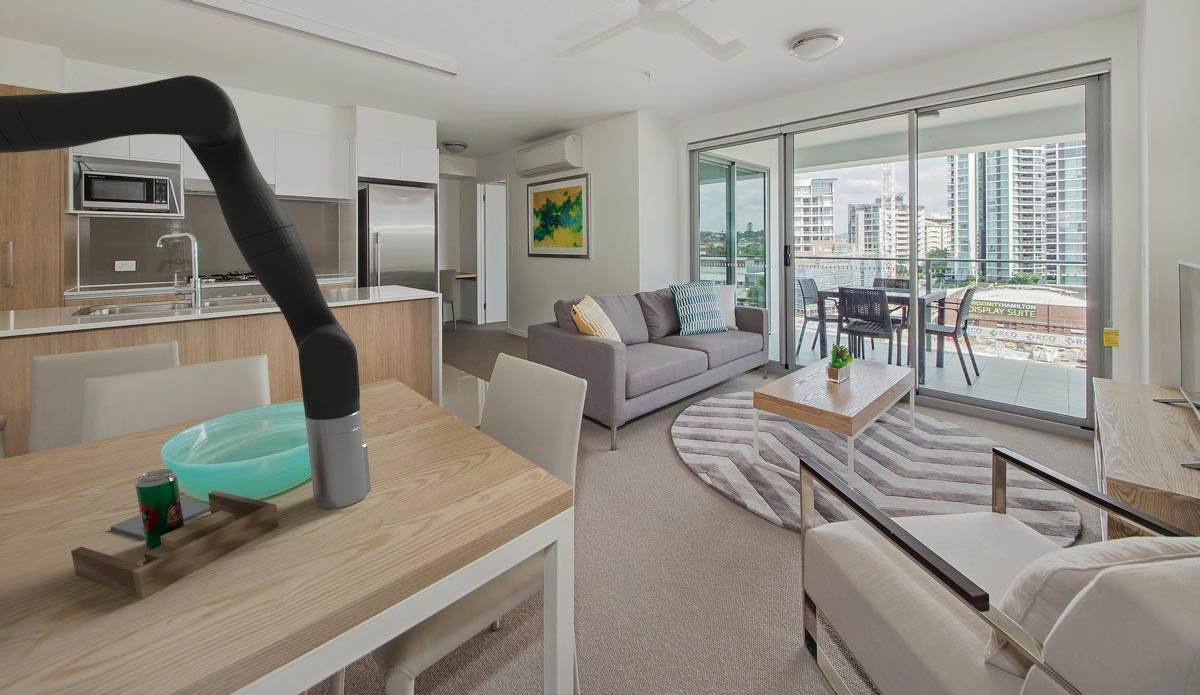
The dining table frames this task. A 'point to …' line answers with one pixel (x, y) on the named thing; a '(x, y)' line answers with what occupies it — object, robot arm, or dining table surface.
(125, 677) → the dining table surface
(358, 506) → the dining table surface
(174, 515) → the soda can
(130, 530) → the mat
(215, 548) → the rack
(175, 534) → the offcut stack
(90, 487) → the dining table surface
